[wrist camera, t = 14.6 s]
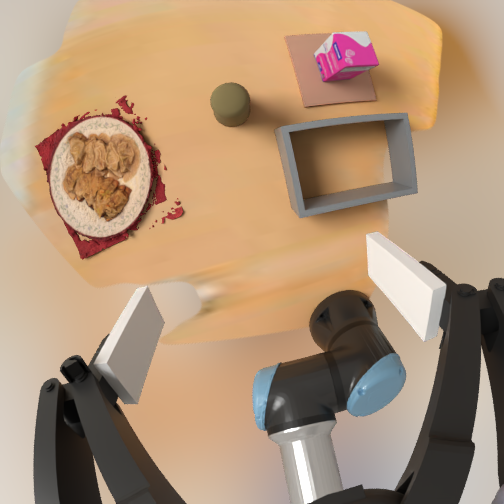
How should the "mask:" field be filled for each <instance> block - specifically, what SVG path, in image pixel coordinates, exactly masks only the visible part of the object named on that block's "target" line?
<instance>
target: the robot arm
mask: <svg viewBox="0 0 504 504" xmlns="http://www.w3.org/2000/svg"><path fill="white" fill-rule="evenodd" d="M366 240H367V256H368V276H369V277H370V278H371V279H372V280H373V281H374V282H375V284H376V285H377V286H378V287H379V288H380V289H381V290H382V292H383V293H384V294H385V295H386V296H387V297H388V298H389V299H390V301H391V302H392V303H393V304H394V306H395V307H396V308H397V309H398V310H399V311H400V313H401V314H402V315H403V316H404V318H405V319H406V320H407V321H408V323H409V324H410V325H411V326H412V328H413V329H414V330H415V331H416V333H417V334H418V335H419V336H420V338H421V339H422V340H423V341H424V342H425V341H427V340H430V339H432V338H434V337H436V336H437V333H438V328H439V326H440V327H441V328H442V329H443V331H444V332H443V336H442V340H441V344H440V347H439V349H441V350H440V355H439V361H438V366H437V372H436V376H435V381H434V385H433V389H432V394H431V397H430V402H429V405H428V409H427V412H426V415H425V419H424V422H423V426H422V428H421V432H420V435H419V437H418V440H417V443H416V446H415V448H414V451H413V454H412V456H411V458H410V461H409V463H408V466H407V468H406V470H405V472H404V473H403V475H402V477H401V479H400V481H399V483H398V485H397V487H396V489H395V491H392V490H387V489H363V486H362V485H359V486H356V487H352V488H349V489H346V490H343V487H342V482H341V478H340V473H339V469H338V464H337V460H336V456H335V451H334V448H333V443H332V439H331V435H330V434H331V431H332V429H333V428H334V426H335V425H336V423H337V422H336V418H335V413H337V412H341V411H344V410H348V412H349V413H350V414H351V415H353V416H356V417H357V416H366V415H370V414H372V413H374V412H376V411H378V410H380V409H382V408H383V407H384V406H386V405H387V404H389V403H390V402H391V401H392V400H393V399H394V398H395V397H396V396H397V395H398V393H399V392H400V391H401V389H402V387H403V385H404V383H405V380H406V371H405V368H404V366H403V364H402V362H401V360H400V357H399V355H398V354H396V352H395V350H394V349H393V348H392V346H391V345H390V343H389V341H388V340H387V339H386V337H385V336H384V334H383V333H382V331H381V330H380V328H379V327H378V323H377V317H376V312H375V308H374V306H373V304H372V302H371V301H370V300H369V298H368V297H367V296H366V295H365V294H363V293H361V292H358V291H354V290H346V291H341V292H337V293H335V294H333V295H331V296H329V297H327V298H326V299H325V300H323V301H322V302H321V303H320V304H319V305H318V306H317V307H316V309H315V310H314V312H313V314H312V316H311V319H310V324H309V327H310V332H311V335H312V337H313V339H314V341H315V343H316V344H317V345H318V346H319V347H320V348H321V349H322V350H323V351H325V352H324V353H320V354H316V355H313V356H309V357H305V358H301V359H297V360H293V361H289V362H285V363H278V364H277V365H274V366H270V367H266V368H263V369H261V370H259V371H258V372H257V374H256V376H255V379H254V383H253V410H254V414H255V421H256V424H257V427H258V428H259V429H260V430H264V431H267V432H268V437H269V439H270V440H272V441H274V442H275V443H277V444H278V445H279V446H280V452H281V456H282V462H283V467H284V472H285V478H286V483H287V487H288V493H289V498H290V503H291V504H458V503H459V501H460V498H461V495H462V493H463V490H464V487H465V484H466V481H467V478H468V474H469V471H470V467H471V463H472V460H473V456H474V450H475V444H474V443H473V442H472V440H471V438H472V433H473V427H474V421H475V416H476V409H477V402H478V393H479V383H480V367H481V346H482V350H483V354H484V358H485V362H486V366H487V370H488V375H489V380H490V386H491V391H492V397H493V404H494V411H495V420H496V431H497V450H498V476H499V486H500V489H499V490H498V492H497V494H496V496H495V499H494V500H493V501H492V504H504V279H502V278H494V279H492V280H490V283H489V286H488V289H486V290H480V291H477V289H476V288H475V287H473V286H471V285H469V284H458V285H457V284H456V283H454V282H453V281H452V280H451V279H450V278H448V277H447V276H446V275H445V274H443V273H442V272H441V271H439V270H437V268H436V267H434V266H433V265H432V264H430V263H427V262H424V261H421V262H418V261H416V260H415V259H414V258H413V257H411V256H410V255H409V254H407V253H406V252H405V251H403V250H402V249H401V248H399V247H398V246H397V245H395V244H394V243H393V242H391V241H390V240H388V239H387V238H386V237H384V236H383V235H382V234H380V233H379V232H373V233H369V234H366ZM164 323H165V322H164V320H163V318H162V316H161V314H160V312H159V310H158V308H157V306H156V303H155V301H154V299H153V297H152V294H151V292H150V290H149V288H148V286H145V287H141V288H137V289H136V291H135V292H134V294H133V296H132V297H131V299H130V301H129V302H128V304H127V306H126V307H125V309H124V310H123V312H122V314H121V316H120V317H119V319H118V321H117V322H116V324H115V326H114V328H113V329H112V331H111V333H110V334H108V335H107V336H106V337H105V338H104V339H103V340H102V342H101V344H100V345H99V348H98V349H97V351H96V353H95V354H94V356H93V358H92V360H91V362H90V364H89V365H88V366H87V365H86V363H85V362H84V360H83V359H82V358H81V356H79V355H75V356H71V357H69V358H68V359H67V360H65V361H64V362H63V364H62V365H61V367H60V371H61V373H62V374H63V375H64V376H65V378H66V379H67V381H68V382H69V383H67V384H63V385H62V384H61V383H60V382H59V380H58V379H57V378H52V379H49V380H47V381H46V382H45V383H44V384H43V386H42V387H41V390H40V396H39V403H38V410H37V419H36V428H35V440H34V495H35V504H102V501H101V497H100V493H99V488H98V483H97V478H96V472H95V466H94V459H93V456H94V458H95V461H96V463H97V465H98V467H99V469H100V472H101V473H102V476H103V478H104V480H105V482H106V484H107V486H108V488H109V490H110V492H111V494H112V496H113V498H114V499H115V502H116V504H186V503H185V501H184V500H183V499H182V498H181V497H180V496H179V494H178V493H177V492H176V491H175V489H174V488H173V487H172V486H171V485H170V483H169V482H168V481H167V479H166V478H165V477H164V475H163V474H162V473H161V471H160V470H159V469H158V467H157V466H156V465H155V463H154V462H153V460H152V459H151V457H150V456H149V454H148V453H147V451H146V450H145V448H144V447H143V445H142V444H141V442H140V441H139V439H138V437H137V436H136V434H135V432H134V431H133V429H132V427H131V426H130V424H129V422H128V420H127V419H126V417H125V415H124V413H123V411H122V410H121V408H120V406H119V405H118V404H117V403H116V401H117V399H118V397H119V398H120V399H121V400H122V401H123V403H124V404H138V401H139V398H140V395H141V392H142V388H143V385H144V382H145V379H146V376H147V372H148V369H149V367H150V364H151V360H152V357H153V355H154V352H155V349H156V346H157V343H158V340H159V337H160V334H161V331H162V328H163V326H164Z"/></svg>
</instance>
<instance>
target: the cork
mask: <svg viewBox="0 0 504 504" xmlns="http://www.w3.org/2000/svg"><path fill="white" fill-rule="evenodd" d="M210 101H211V107H212V109H213V111H214V115H215V117H216V119H217V120H218V122H219V123H221V124H223V125H224V126H229V127H235V126H238V125H241V124H242V123H244V122H245V121H246V120H247V118H248V117H249V113H250V105H249V103H250V97H249V94H248V92H247V90H246V89H245V88H244V87H243V86H241V85H239V84H237V83H225V84H222V85H220V86H218V87H217V88H216V89H215V90H214V92H213V93H212V95H211V99H210Z"/></svg>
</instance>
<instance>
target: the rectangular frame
mask: <svg viewBox="0 0 504 504" xmlns="http://www.w3.org/2000/svg"><path fill="white" fill-rule="evenodd" d="M372 121H384V124H385V129H386V135H387V141H388V147H389V153H390V160H391V168H392V176H393V182H390V183H384V184H378V185H373V186H368V187H362V188H357V189H352V190H347V191H342V192H337V193H332V194H327V195H323V196H318V197H313V198H308V199H304V200H303V197H302V192H301V186H300V181H299V177H298V172H297V167H296V162H295V158H294V153H293V149H292V144H291V140H290V135H289V133H290V132H296V131H302V130H308V129H314V128H321V127H328V126H335V125H343V124H351V123H361V122H372ZM274 131H275V135H276V140H277V144H278V148H279V152H280V157H281V161H282V166H283V170H284V175H285V179H286V184H287V189H288V194H289V198H290V203H291V208H292V209H293V210H294V212H295V213H296V214H297V215H298V217H299V218H303V217H308V216H312V215H316V214H321V213H325V212H330V211H334V210H339V209H344V208H348V207H353V206H357V205H362V204H367V203H372V202H376V201H381V200H386V199H391V198H396V197H401V196H405V195H410V194H415V193H418V192H417V178H416V168H415V158H414V151H413V144H412V137H411V131H410V125H409V119H408V114H407V113H391V114H374V115H361V116H351V117H342V118H333V119H325V120H318V121H311V122H305V123H299V124H293V125H287V126H282V127H279V128H277V129H275V130H274Z"/></svg>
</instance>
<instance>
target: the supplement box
mask: <svg viewBox="0 0 504 504" xmlns="http://www.w3.org/2000/svg"><path fill="white" fill-rule="evenodd" d="M314 57H315V59H316V62H317V65H318V68H319V71H320V74H321V77H322V81H323V82H328V81H336V80H345V79H351V78H353V77H355V76H357V75H359V74H361V73H363V72H365V71H367V70H369V69H371V68H374V67H376V66H378V65H379V63H378V60H377V57H376V54H375V51H374V49H373V46H372V43H371V41H370V38H369V36H368V33H367V32H336V33H332V34H331V36H330V37H329V38H328V39H327V40H326V41H325V42H324V43H323V44H322V45H321V47H320V48H319V49H318V50H317V51H316V52H315V53H314Z"/></svg>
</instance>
